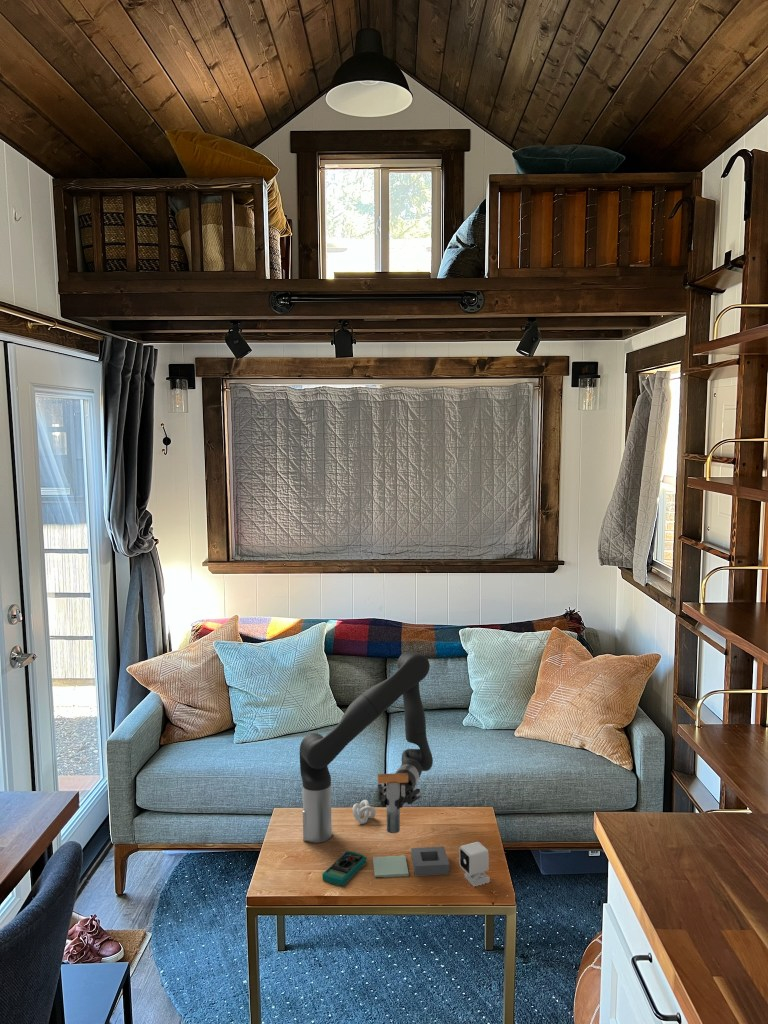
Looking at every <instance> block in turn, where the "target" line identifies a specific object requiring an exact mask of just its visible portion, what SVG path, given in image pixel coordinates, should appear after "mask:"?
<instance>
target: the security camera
mask: <svg viewBox="0 0 768 1024" xmlns="http://www.w3.org/2000/svg"><path fill="white" fill-rule="evenodd" d="M458 851H459V852H458V853H459V855H458V858H459V867H460V868H461V869H462V870H463V871H464V872H465V873H464V879H465V878H466V879H467V880H468V883H470V885H472V886H473V887H474V888H475V886H476V887H479V886H478V885H480V886H482V884H483V885H486V884H485V883H487V884H490V883H491V877H490V876H489V875H487V873H485V872H487V871H490V870H489V866H490V865H489V863H490V862H489V861H490V858H489V857H490V856H489V855H490V854H489V853H490V852H489V850H488V848H486V847H485V846H484V845H483V844H482V843H481V842H480V841H475V842H471V843H467V844H463V845H460V846H459V849H458ZM466 879H465V880H466ZM467 880H466V881H467ZM489 882H490V883H489Z"/></svg>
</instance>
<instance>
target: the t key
mask: <svg viewBox="0 0 768 1024" xmlns="http://www.w3.org/2000/svg"><path fill="white" fill-rule="evenodd" d="M405 782H408V773H396V772H394V773H378V774H377V785H378V784H385V785H386V786H385V787H386V791H385V792H386V806H385V807H386V832H387V833H390V834H398V833H399V832H400V831H401V808H400V809H397V801H398V799H399V798H400V783H405Z"/></svg>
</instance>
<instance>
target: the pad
mask: <svg viewBox="0 0 768 1024" xmlns="http://www.w3.org/2000/svg"><path fill="white" fill-rule="evenodd" d="M373 866H374V867H373ZM372 867H373V873H374V879H377V878H376V877H384V878H400V877H402V876H403V877H409V876H410V875H409V873H410V872H409V868H408V864H407V857H406V855H389V856H388V855H387V856H372Z"/></svg>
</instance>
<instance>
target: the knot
mask: <svg viewBox="0 0 768 1024" xmlns="http://www.w3.org/2000/svg"><path fill="white" fill-rule="evenodd" d="M376 814H377V812H376V810H375V808H374V807H373V806H370V802H369V800H367V799H363V800H361V802H360V803H357V802H356V803H354V804H353V806H352V815H353V817H354V820H356V822H357V823H358V824H361V825H364V824H366V823H367V821H368V819H374V818H375V816H376ZM362 815H363V818H361V817H362Z"/></svg>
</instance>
